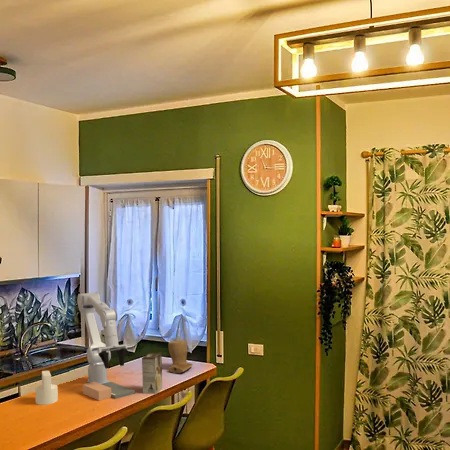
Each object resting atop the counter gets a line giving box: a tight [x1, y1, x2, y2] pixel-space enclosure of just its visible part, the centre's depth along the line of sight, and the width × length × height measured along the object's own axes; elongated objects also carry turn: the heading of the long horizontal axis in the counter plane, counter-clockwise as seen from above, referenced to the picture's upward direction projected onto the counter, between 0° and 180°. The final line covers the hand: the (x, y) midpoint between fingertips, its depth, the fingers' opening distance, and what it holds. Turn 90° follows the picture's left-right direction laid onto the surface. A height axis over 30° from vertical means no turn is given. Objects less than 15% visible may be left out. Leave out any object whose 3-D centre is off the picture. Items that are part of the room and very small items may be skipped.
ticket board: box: [102, 381, 136, 400], centre depth 246 cm, size 20×10×2 cm, turn 43°
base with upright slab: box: [35, 370, 59, 406], centre depth 234 cm, size 9×9×12 cm
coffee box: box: [141, 352, 163, 395], centre depth 246 cm, size 9×6×16 cm
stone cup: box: [167, 339, 194, 374], centre depth 280 cm, size 15×12×15 cm
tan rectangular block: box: [82, 382, 112, 402], centre depth 240 cm, size 14×6×4 cm, turn 43°
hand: (114, 367), depth 245 cm, fingers open, 7 cm apart
